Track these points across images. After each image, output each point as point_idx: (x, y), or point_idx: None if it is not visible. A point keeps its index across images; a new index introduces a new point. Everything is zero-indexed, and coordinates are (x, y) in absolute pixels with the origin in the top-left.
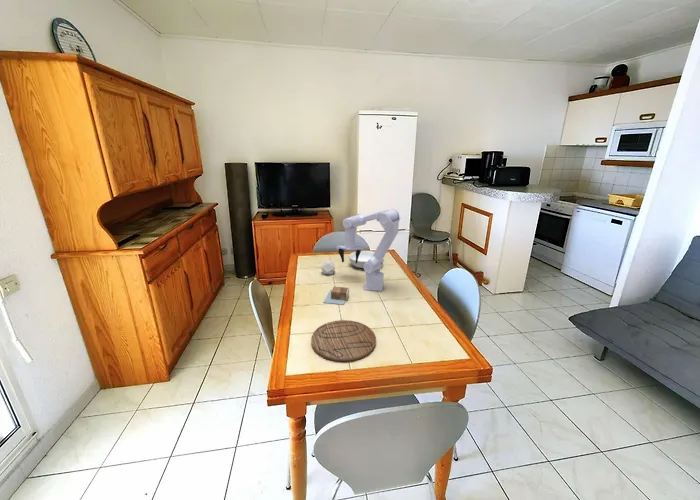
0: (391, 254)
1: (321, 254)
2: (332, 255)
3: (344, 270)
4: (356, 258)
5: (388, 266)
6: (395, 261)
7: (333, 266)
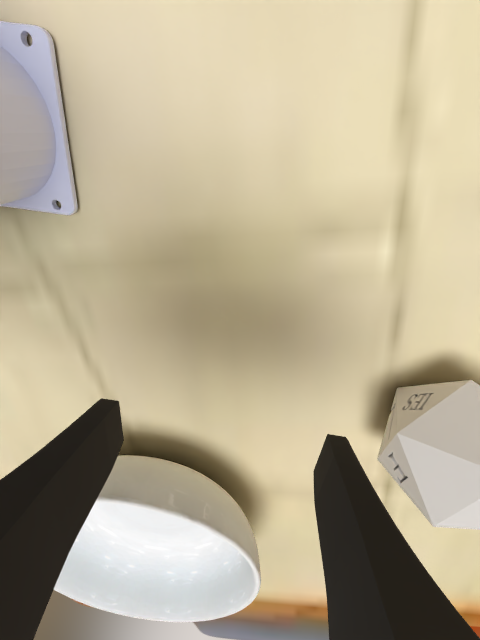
0: None
1: None
2: None
3: (292, 444)
4: (39, 474)
5: None
6: None
7: (417, 445)
